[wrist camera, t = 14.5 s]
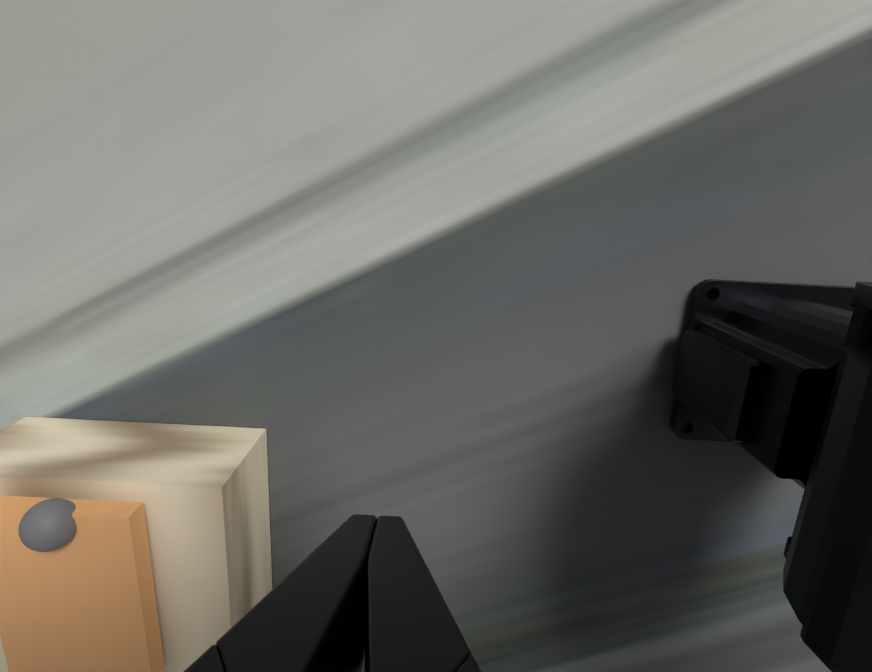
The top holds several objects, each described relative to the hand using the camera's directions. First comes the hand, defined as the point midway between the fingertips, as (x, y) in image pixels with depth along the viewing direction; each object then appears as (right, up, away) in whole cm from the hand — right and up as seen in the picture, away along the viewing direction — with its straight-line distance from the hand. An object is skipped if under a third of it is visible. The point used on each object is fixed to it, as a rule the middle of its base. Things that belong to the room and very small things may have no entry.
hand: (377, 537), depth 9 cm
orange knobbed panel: (-11, -5, +9) cm, 15 cm away
